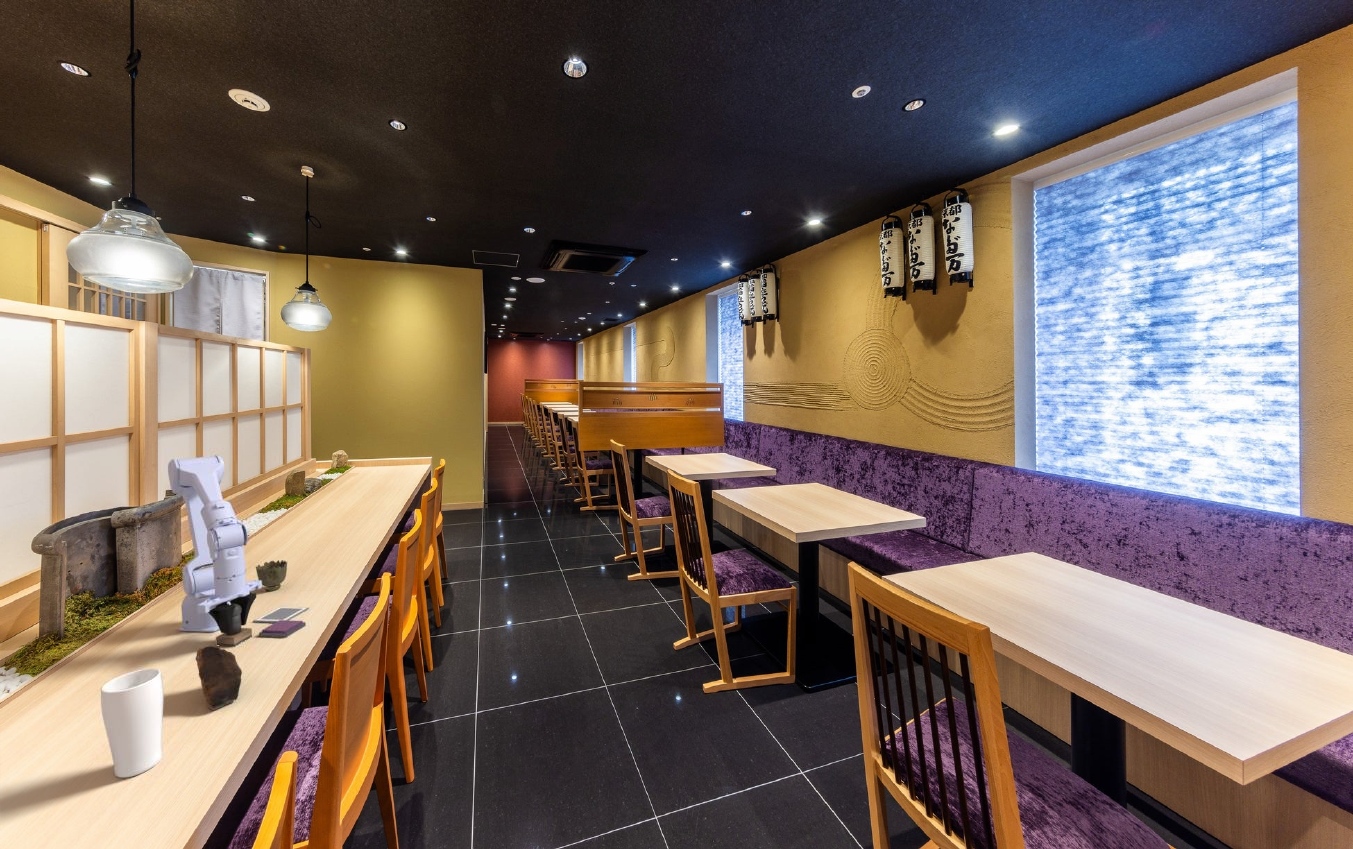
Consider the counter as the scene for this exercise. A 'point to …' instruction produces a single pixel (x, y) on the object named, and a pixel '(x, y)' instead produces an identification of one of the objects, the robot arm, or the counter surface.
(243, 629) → the wooden stamp
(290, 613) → the stamping board
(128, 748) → the white tumbler
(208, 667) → the decorative rock
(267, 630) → the ink pad
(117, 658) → the counter surface
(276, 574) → the cup
